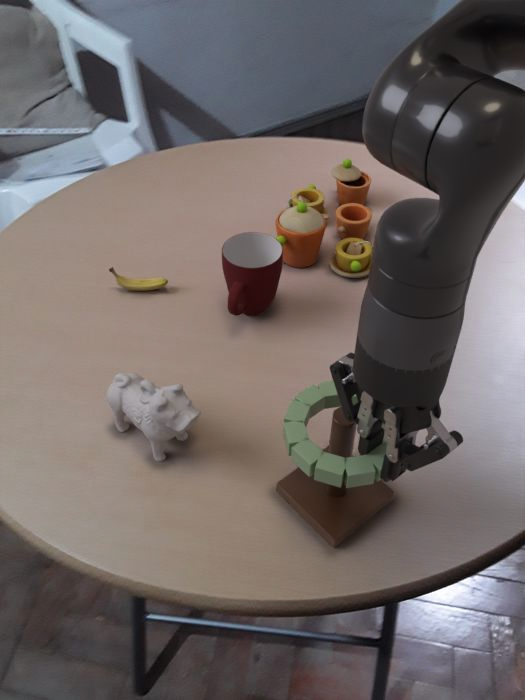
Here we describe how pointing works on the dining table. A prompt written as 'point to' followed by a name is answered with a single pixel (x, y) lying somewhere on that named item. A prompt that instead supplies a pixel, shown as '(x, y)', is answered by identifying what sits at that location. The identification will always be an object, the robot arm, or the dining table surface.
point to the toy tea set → (310, 222)
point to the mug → (251, 271)
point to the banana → (139, 282)
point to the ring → (315, 459)
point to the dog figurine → (151, 409)
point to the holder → (334, 491)
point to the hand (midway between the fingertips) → (379, 465)
